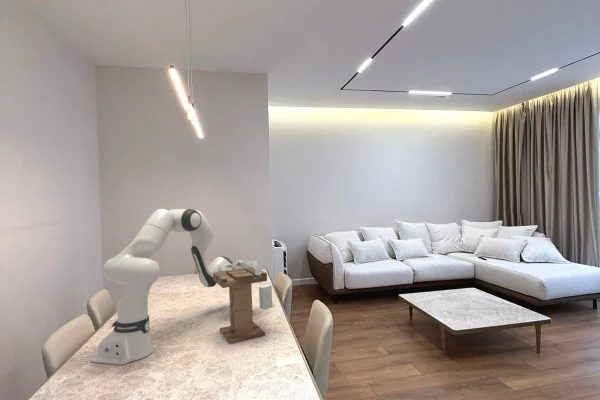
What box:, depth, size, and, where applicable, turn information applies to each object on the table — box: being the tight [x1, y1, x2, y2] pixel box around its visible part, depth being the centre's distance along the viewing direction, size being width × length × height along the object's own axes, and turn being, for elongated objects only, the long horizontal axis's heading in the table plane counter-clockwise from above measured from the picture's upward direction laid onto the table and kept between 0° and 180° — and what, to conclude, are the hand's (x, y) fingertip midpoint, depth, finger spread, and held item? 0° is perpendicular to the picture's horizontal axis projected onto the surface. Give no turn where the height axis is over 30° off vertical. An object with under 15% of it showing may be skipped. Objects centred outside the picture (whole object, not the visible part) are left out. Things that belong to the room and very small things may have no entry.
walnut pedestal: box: [213, 269, 268, 345], centre depth 152 cm, size 16×20×28 cm
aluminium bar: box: [236, 258, 263, 275], centre depth 159 cm, size 26×3×3 cm, turn 28°
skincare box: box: [258, 284, 273, 310], centre depth 188 cm, size 6×4×12 cm
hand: (242, 262), depth 168 cm, fingers closed on aluminium bar, 3 cm apart
